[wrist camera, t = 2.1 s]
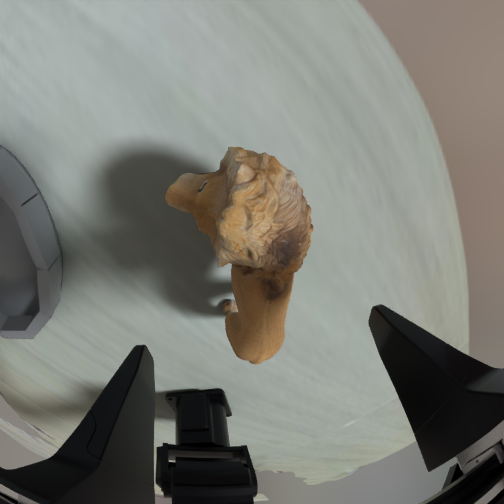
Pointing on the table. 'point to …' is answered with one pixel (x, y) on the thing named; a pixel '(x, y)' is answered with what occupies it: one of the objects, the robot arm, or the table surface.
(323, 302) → the table surface
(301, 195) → the lion figurine
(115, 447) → the robot arm
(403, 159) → the table surface
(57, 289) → the round dish
